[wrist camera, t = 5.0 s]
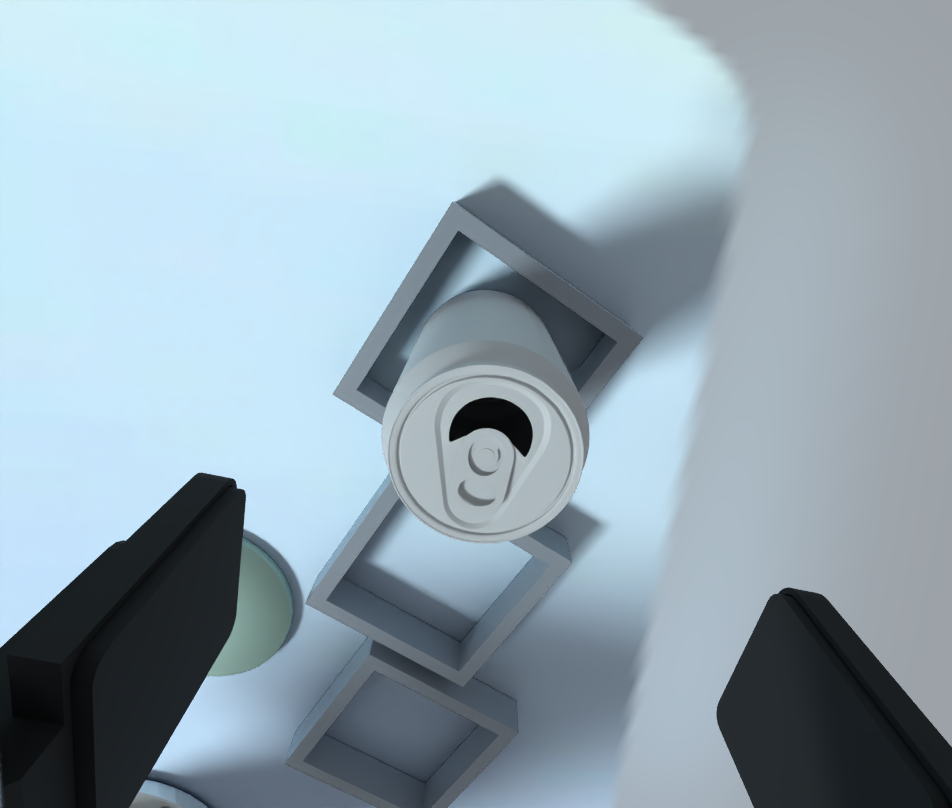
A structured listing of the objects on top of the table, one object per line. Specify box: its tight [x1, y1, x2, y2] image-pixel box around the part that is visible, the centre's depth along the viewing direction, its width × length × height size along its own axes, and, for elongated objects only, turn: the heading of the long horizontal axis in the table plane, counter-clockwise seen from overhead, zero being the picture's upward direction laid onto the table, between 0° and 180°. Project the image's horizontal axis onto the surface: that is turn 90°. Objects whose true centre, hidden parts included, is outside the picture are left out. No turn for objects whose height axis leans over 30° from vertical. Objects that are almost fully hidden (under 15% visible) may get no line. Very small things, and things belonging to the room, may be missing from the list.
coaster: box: [207, 538, 293, 676], centre depth 32 cm, size 10×10×1 cm
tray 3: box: [284, 637, 518, 808], centre depth 34 cm, size 10×10×2 cm
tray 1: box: [333, 202, 643, 424], centre depth 26 cm, size 10×10×2 cm
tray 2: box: [305, 473, 572, 687], centre depth 30 cm, size 10×10×2 cm
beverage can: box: [382, 290, 589, 543], centre depth 22 cm, size 6×6×12 cm
